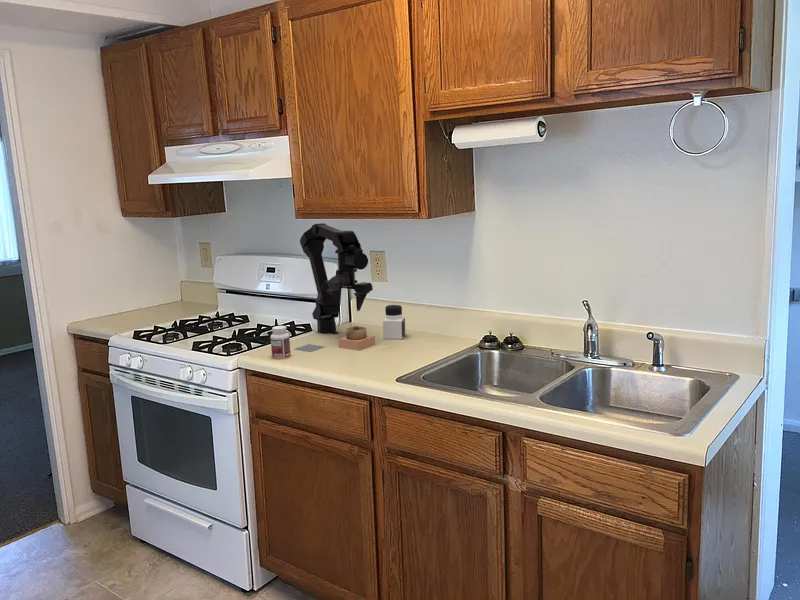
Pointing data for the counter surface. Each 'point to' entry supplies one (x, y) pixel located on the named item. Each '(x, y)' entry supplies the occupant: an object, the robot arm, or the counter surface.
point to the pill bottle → (280, 343)
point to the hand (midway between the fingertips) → (348, 309)
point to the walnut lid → (356, 333)
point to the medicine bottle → (393, 323)
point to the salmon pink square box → (356, 343)
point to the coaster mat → (309, 348)
